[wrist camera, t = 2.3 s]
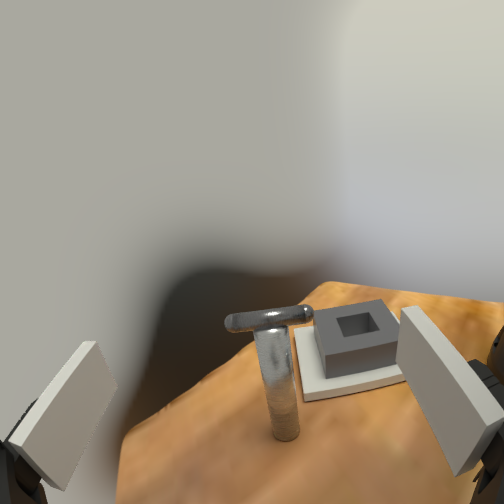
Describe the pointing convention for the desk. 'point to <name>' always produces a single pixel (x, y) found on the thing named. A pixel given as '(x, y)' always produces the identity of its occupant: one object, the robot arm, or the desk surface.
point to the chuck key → (275, 360)
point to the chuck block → (348, 350)
